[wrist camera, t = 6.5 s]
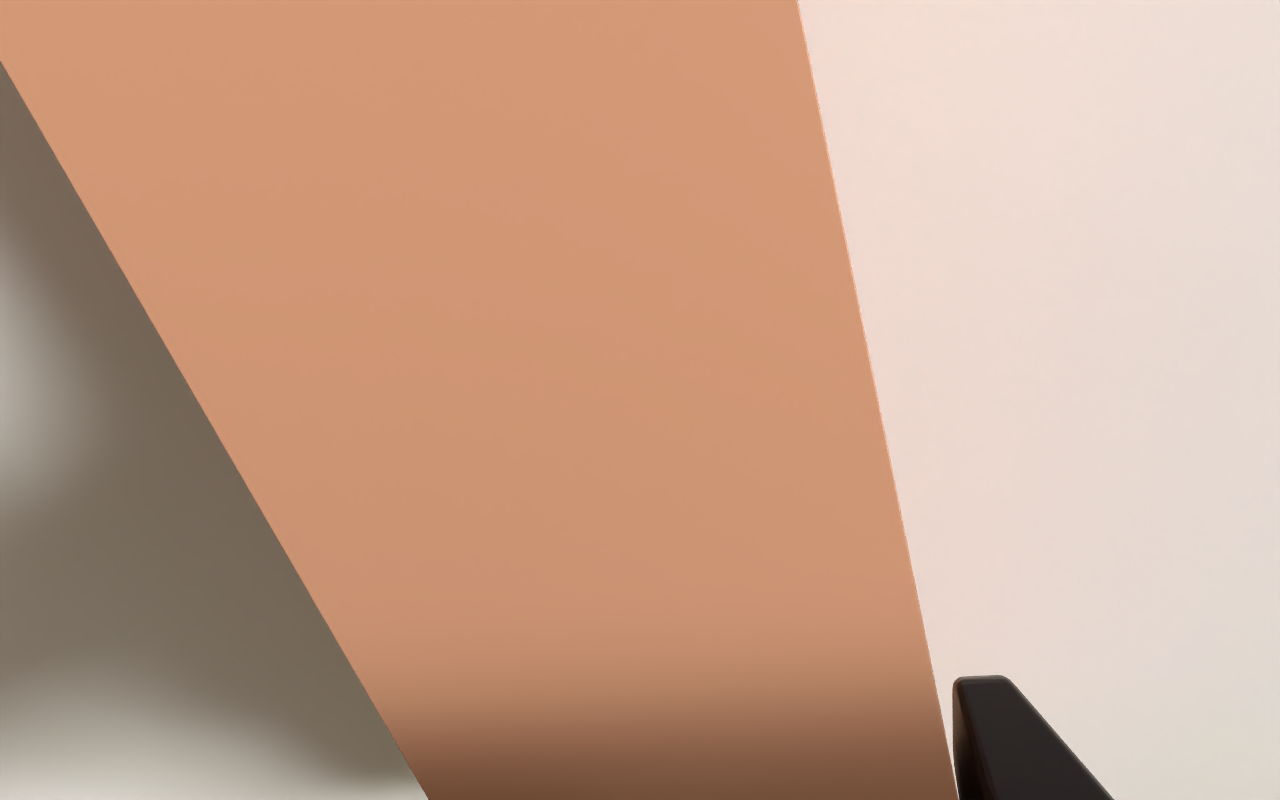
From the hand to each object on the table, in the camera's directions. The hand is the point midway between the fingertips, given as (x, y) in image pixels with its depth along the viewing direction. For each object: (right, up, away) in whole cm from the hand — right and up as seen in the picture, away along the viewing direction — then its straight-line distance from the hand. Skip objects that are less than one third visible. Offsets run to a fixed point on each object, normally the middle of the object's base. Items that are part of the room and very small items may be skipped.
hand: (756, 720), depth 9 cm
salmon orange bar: (-1, +5, -2) cm, 5 cm away
